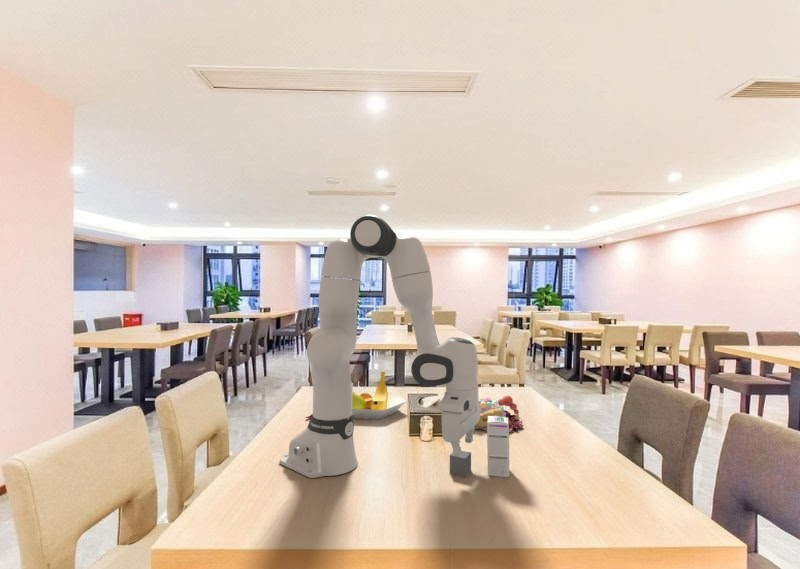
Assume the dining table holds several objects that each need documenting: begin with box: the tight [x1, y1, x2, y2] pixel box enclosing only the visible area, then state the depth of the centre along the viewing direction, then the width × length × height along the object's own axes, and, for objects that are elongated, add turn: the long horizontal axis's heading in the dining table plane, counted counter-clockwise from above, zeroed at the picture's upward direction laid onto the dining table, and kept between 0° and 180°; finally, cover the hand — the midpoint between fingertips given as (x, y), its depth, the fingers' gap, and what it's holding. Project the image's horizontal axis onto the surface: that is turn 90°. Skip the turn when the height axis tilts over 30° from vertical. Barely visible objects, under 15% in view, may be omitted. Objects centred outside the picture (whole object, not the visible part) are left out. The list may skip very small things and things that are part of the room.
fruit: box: [352, 371, 407, 420], centre depth 165 cm, size 30×26×14 cm
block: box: [449, 450, 472, 478], centre depth 111 cm, size 4×4×5 cm
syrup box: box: [486, 416, 510, 478], centre depth 111 cm, size 6×6×14 cm
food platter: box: [474, 395, 524, 433], centre depth 153 cm, size 25×24×9 cm
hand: (463, 448), depth 111 cm, fingers open, 8 cm apart
